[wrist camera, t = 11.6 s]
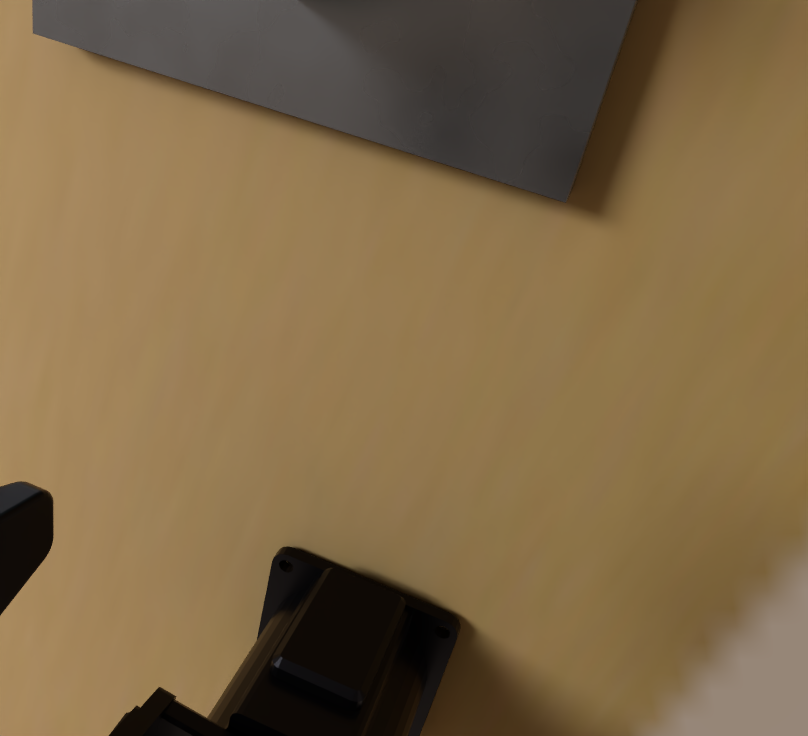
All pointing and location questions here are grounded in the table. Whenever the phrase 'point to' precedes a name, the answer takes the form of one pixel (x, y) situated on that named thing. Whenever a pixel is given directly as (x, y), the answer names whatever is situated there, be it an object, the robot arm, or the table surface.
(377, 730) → the robot arm
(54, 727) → the table surface
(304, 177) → the table surface
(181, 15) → the base plate
